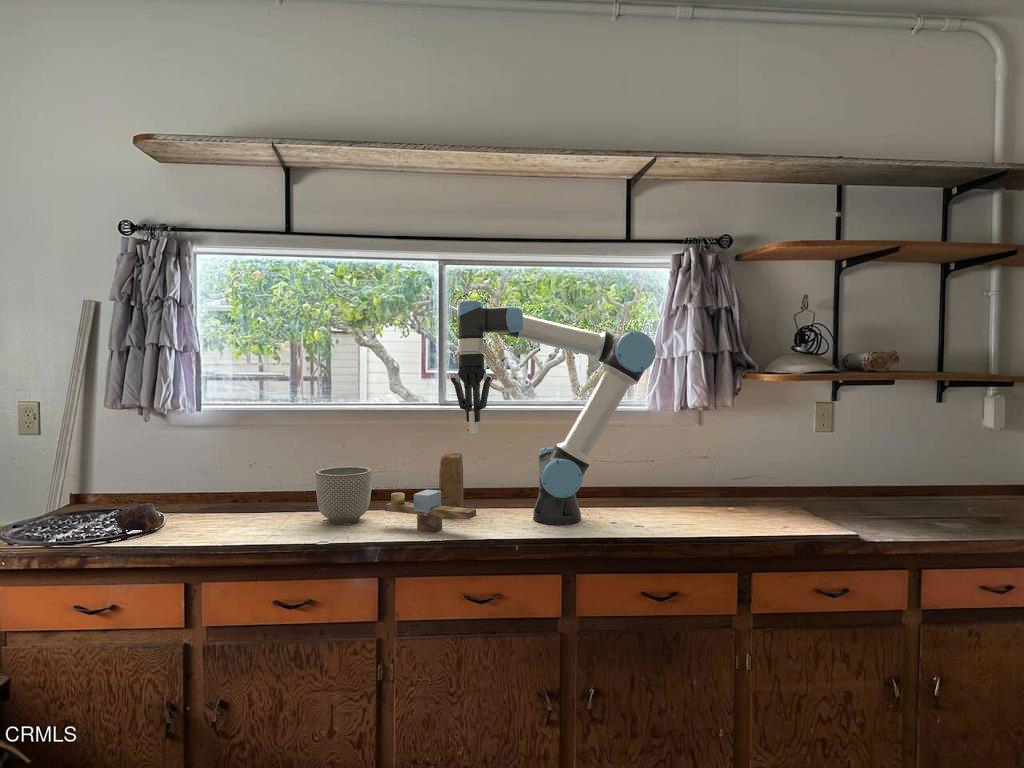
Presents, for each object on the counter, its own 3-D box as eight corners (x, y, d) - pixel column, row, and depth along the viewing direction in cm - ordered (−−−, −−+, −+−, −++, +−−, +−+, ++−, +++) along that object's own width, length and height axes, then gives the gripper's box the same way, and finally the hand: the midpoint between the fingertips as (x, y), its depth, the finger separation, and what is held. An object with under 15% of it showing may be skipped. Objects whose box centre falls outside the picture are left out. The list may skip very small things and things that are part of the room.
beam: (476, 532, 185) (476, 498, 184) (468, 537, 180) (468, 502, 180) (394, 523, 195) (393, 491, 195) (384, 527, 190) (384, 494, 190)
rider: (441, 507, 190) (441, 490, 190) (428, 512, 183) (428, 495, 183) (426, 505, 192) (426, 489, 192) (413, 511, 185) (413, 494, 185)
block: (460, 518, 201) (460, 456, 201) (437, 518, 202) (437, 456, 201) (465, 510, 212) (465, 451, 212) (443, 510, 213) (443, 451, 212)
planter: (304, 521, 197) (304, 470, 197) (352, 512, 210) (352, 464, 209) (334, 531, 185) (334, 477, 185) (383, 521, 198) (383, 470, 198)
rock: (130, 533, 188) (108, 541, 178) (125, 504, 188) (103, 511, 178) (168, 527, 188) (149, 535, 178) (164, 498, 188) (144, 505, 178)
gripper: (496, 352, 187) (498, 431, 188) (456, 354, 192) (459, 431, 192) (486, 352, 180) (489, 434, 181) (445, 354, 185) (448, 434, 185)
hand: (473, 432), depth 187 cm, fingers closed
